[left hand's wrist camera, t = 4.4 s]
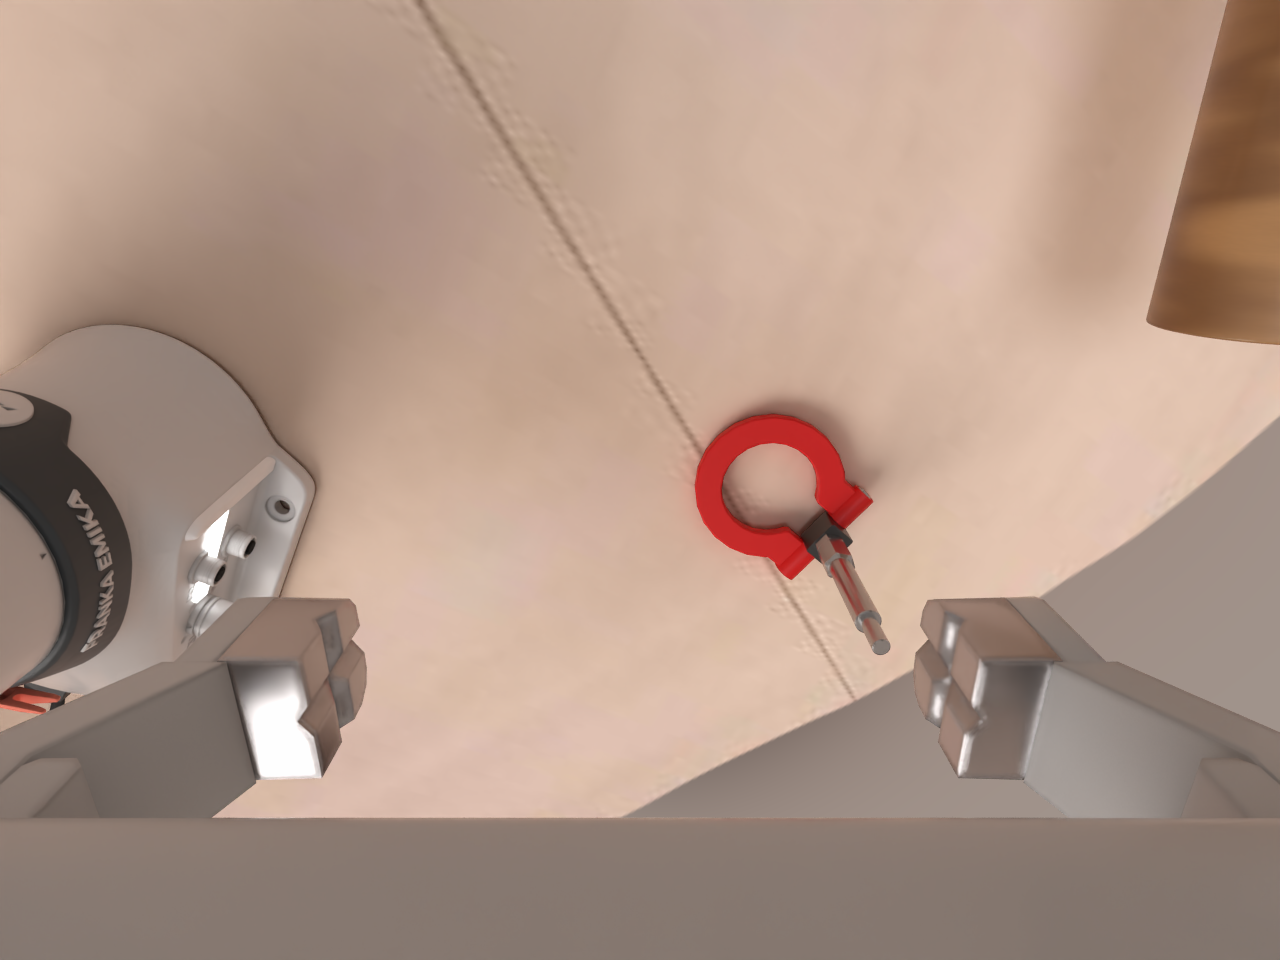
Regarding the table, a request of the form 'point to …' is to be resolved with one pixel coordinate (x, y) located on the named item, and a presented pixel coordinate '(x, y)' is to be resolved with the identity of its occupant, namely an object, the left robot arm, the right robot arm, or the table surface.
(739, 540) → the tow hook
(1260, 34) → the rod
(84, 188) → the table surface
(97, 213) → the table surface
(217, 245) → the table surface
